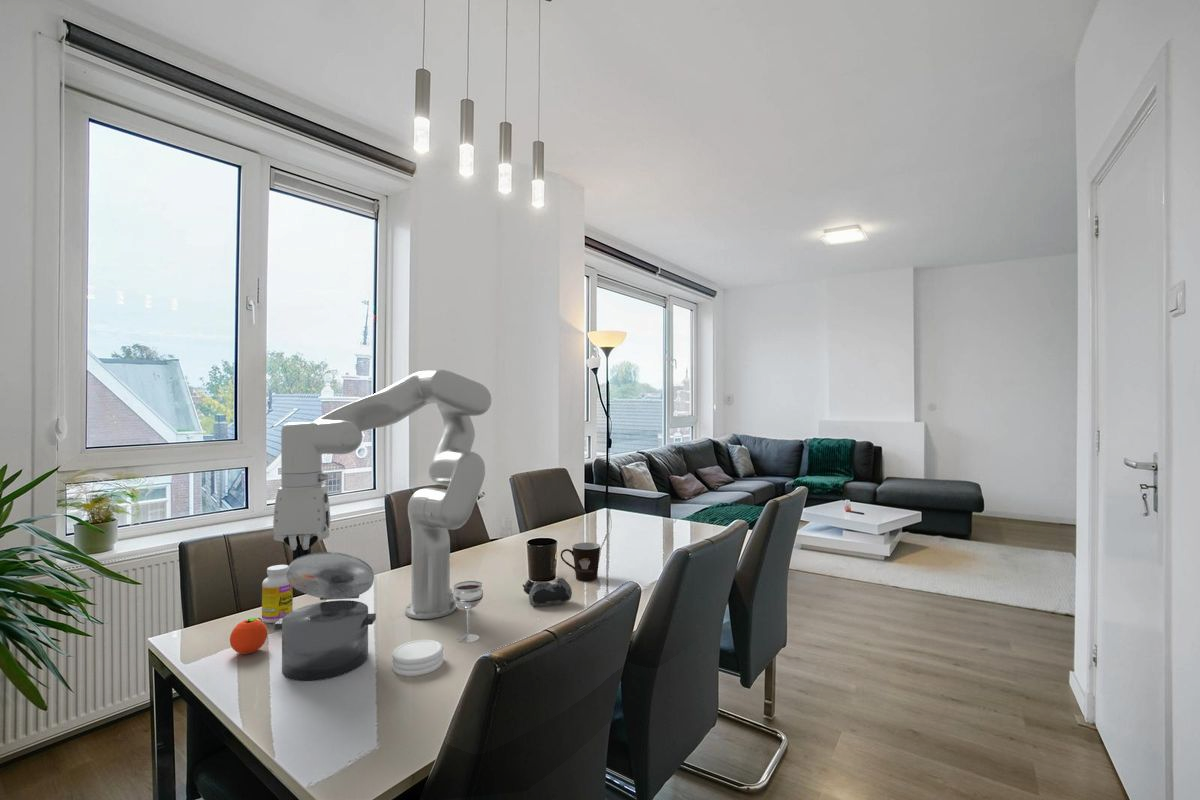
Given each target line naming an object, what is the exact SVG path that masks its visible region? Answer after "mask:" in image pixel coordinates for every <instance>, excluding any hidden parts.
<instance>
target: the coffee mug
mask: <svg viewBox="0 0 1200 800" xmlns="http://www.w3.org/2000/svg"><path fill="white" fill-rule="evenodd" d="M571 547H572V550H571V549H569V548H564V549H563V550H562V551H561V552H560V558H561V560H562V562H563V563H564V564H565V565H568V566H569V567H570V568H572V570H574V572H575V579H576V580H577V581H578V582H585V583H586V582H588V583H589V582H593V581H596V580H597V579H598V571H599V570H598V569H599V563H600V554H601V544H600V543H597V542H591V541H590V542H584V541H583V542H577V543H574V544H573V545H572V546H571ZM565 552H569V553H570V554H571V556H572V557H573V563H574V565H572V564H571V563H569V562H568V561H566V559H565V558H564V557H563V553H565Z"/></svg>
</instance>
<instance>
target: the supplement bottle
mask: <svg viewBox="0 0 1200 800" xmlns="http://www.w3.org/2000/svg"><path fill="white" fill-rule="evenodd" d="M288 567H289V565H288V564H277V565H276V564H275V565H271V566H269V567H267V569H266V575H267V577H266V578H264V579H263V581H262V583H261V591H262V592H261V620H262V622H263V623H265V624H266V623H267V624H275V623H276V622H277V621H278V620H280V619H281V618H284V616H286V615H287V614H288V613H290V612H292V611H293V604H294V603H293V598H294V597H293V596H294V595H293V593H294V592H293V591H294V589H293V588H294V587H292V586H291V585H290V583H289V582H288V580H287V577H286V574H287V570H288Z"/></svg>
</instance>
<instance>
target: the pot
mask: <svg viewBox="0 0 1200 800" xmlns="http://www.w3.org/2000/svg"><path fill="white" fill-rule="evenodd" d="M376 616H377V613H376V612H375V613H369V606H368V605H367V604H366V603H365V602H364V603H363V602H361V601H358V600H350V599H337V600H330V601H328V600H326V601H323V602H322V601H321V602H317V603H312V604H308V605H305V606H302V607H299V608H296V609H294V610H292V612H290V613H288V614H287V615H286V616H284V618H281V619H280V620H278V621H277V622H276V623H274V630H275V631H276V630H277V631H279V630H280V631H281V673H282V675H283V676H284V677H285V678H287V679H290V680H293V681H299V682H312V681H313V682H315V681H322V680H328V679H333V678H337V677H340V676H343V675H346V674H349V673H350V672H353V671H354V670H356V669H358V668H360V667H361V666H363V665H364V664H365V663H366V662H367V660H368V658H369V625H370V626H371V625H373V624H374V622H375V621H376V619H377V617H376Z"/></svg>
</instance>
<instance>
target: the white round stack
mask: <svg viewBox="0 0 1200 800" xmlns="http://www.w3.org/2000/svg"><path fill="white" fill-rule="evenodd" d="M391 657H392V659H391V662H392V664H391V668H392V670H393V673H395V674H397V675H399V676H403V677H417V676H418V677H419V676H423V675H427V674H429V673H430V674H431V673H433V672H435V671H437V670H438V669H440V667H441V666H442V665H443V663H444V645H443V643H441V642H439V641H437V640H433V639H416V640H413V641H409V642H405V643H403V644H401V645H399V646H398V647H395V649H394V650H393V651H392V654H391Z"/></svg>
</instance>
